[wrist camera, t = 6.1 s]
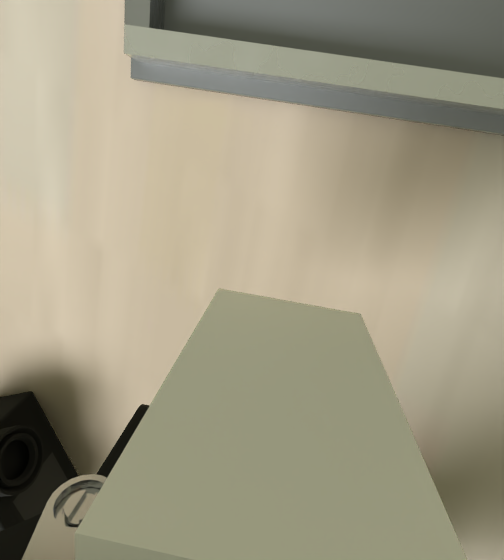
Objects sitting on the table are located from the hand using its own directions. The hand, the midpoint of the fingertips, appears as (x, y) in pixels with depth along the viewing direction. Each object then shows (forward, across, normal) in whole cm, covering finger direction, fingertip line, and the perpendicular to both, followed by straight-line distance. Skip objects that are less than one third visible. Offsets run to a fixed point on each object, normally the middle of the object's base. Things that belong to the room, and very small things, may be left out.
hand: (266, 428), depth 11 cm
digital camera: (+14, +17, +18) cm, 28 cm away
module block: (+2, 0, 0) cm, 2 cm away
